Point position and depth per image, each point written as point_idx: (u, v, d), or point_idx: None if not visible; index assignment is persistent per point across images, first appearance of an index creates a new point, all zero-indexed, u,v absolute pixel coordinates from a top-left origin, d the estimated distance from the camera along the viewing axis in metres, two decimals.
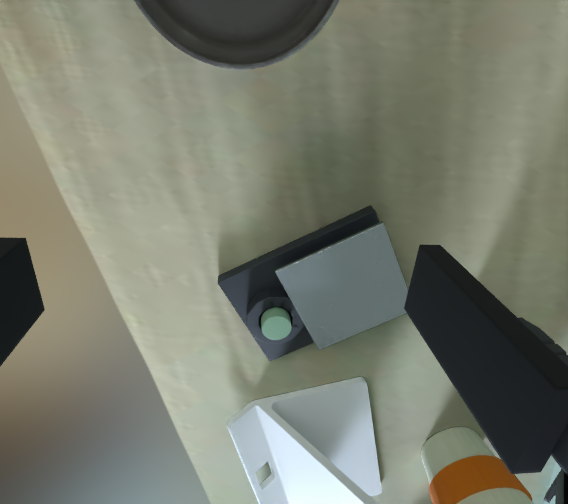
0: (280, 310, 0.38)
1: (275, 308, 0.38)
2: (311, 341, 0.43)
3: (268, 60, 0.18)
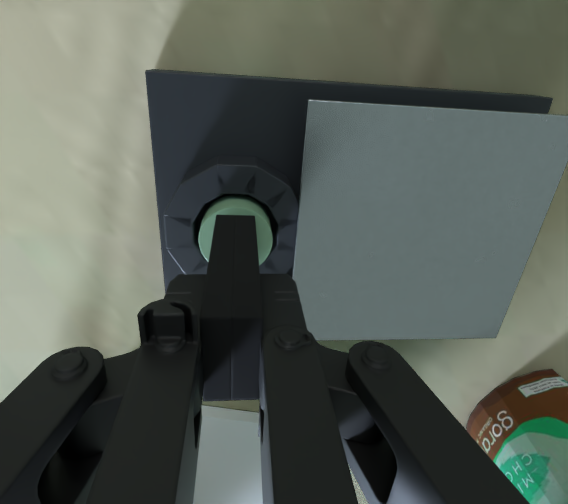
0: (261, 208, 0.16)
1: (251, 199, 0.16)
2: None
3: None
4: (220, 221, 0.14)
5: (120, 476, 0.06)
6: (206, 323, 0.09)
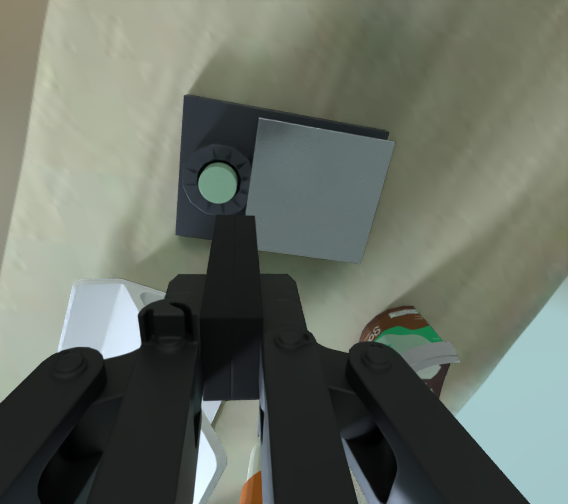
0: (233, 171, 0.31)
1: (228, 166, 0.31)
2: None
3: None
4: (220, 221, 0.14)
5: (120, 476, 0.06)
6: (206, 323, 0.09)
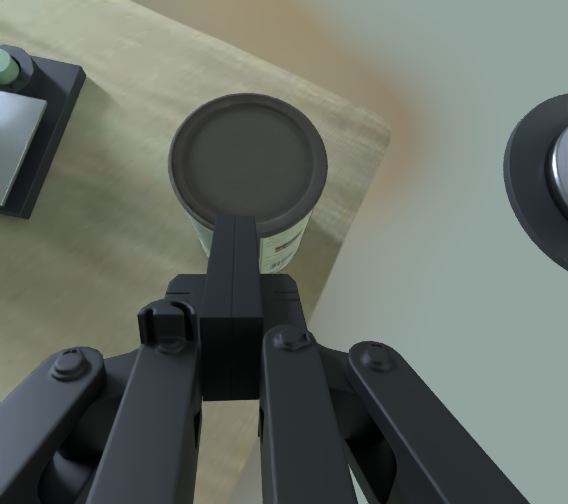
0: (7, 79, 0.37)
1: (13, 78, 0.37)
2: None
3: (178, 134, 0.25)
4: (220, 221, 0.14)
5: (120, 476, 0.06)
6: (206, 323, 0.09)
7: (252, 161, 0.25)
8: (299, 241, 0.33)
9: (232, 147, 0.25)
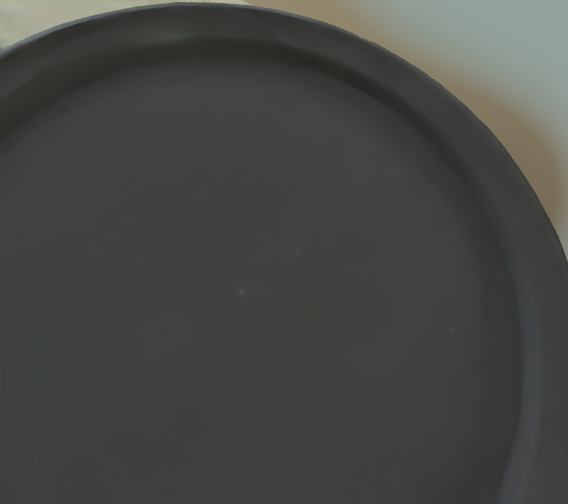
0: None
1: None
2: None
3: None
4: None
5: None
6: None
7: (242, 299, 0.05)
8: None
9: (159, 220, 0.05)
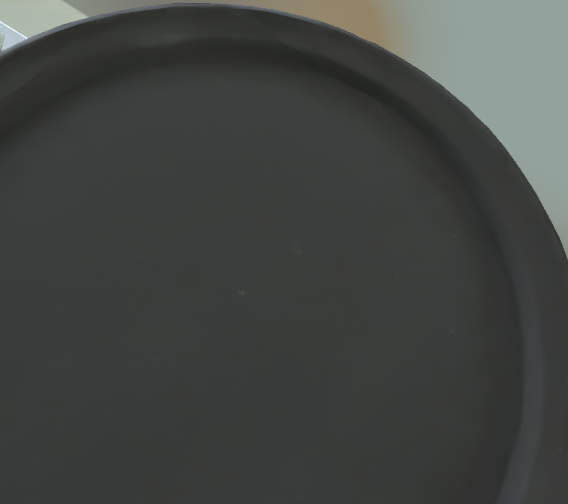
0: None
1: None
2: None
3: None
4: None
5: None
6: None
7: (244, 300, 0.05)
8: None
9: (159, 221, 0.05)
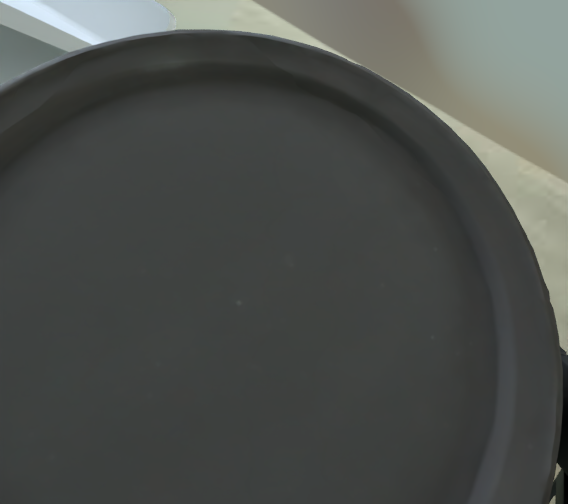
0: None
1: None
2: None
3: None
4: None
5: None
6: None
7: (241, 309, 0.06)
8: None
9: (163, 236, 0.06)
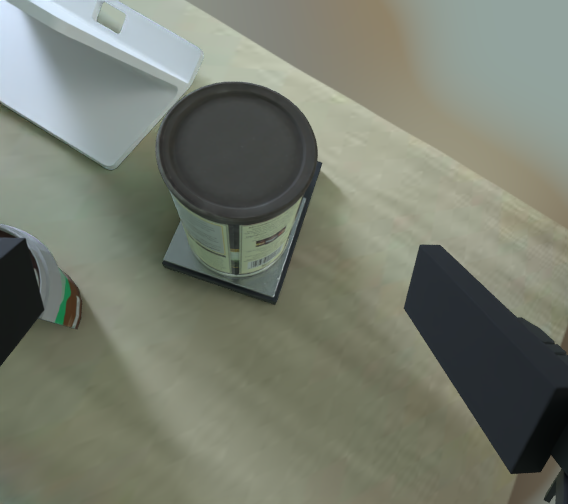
0: None
1: None
2: None
3: (171, 112, 0.24)
4: None
5: None
6: None
7: (242, 148, 0.24)
8: (284, 242, 0.33)
9: (224, 132, 0.25)
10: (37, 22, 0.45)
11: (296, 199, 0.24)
